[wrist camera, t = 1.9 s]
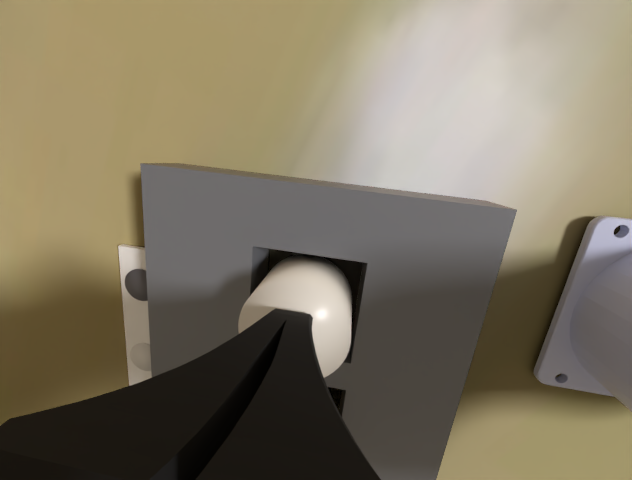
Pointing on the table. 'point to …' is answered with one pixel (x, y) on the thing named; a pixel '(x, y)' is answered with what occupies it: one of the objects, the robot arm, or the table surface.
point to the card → (135, 312)
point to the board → (373, 294)
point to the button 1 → (308, 303)
